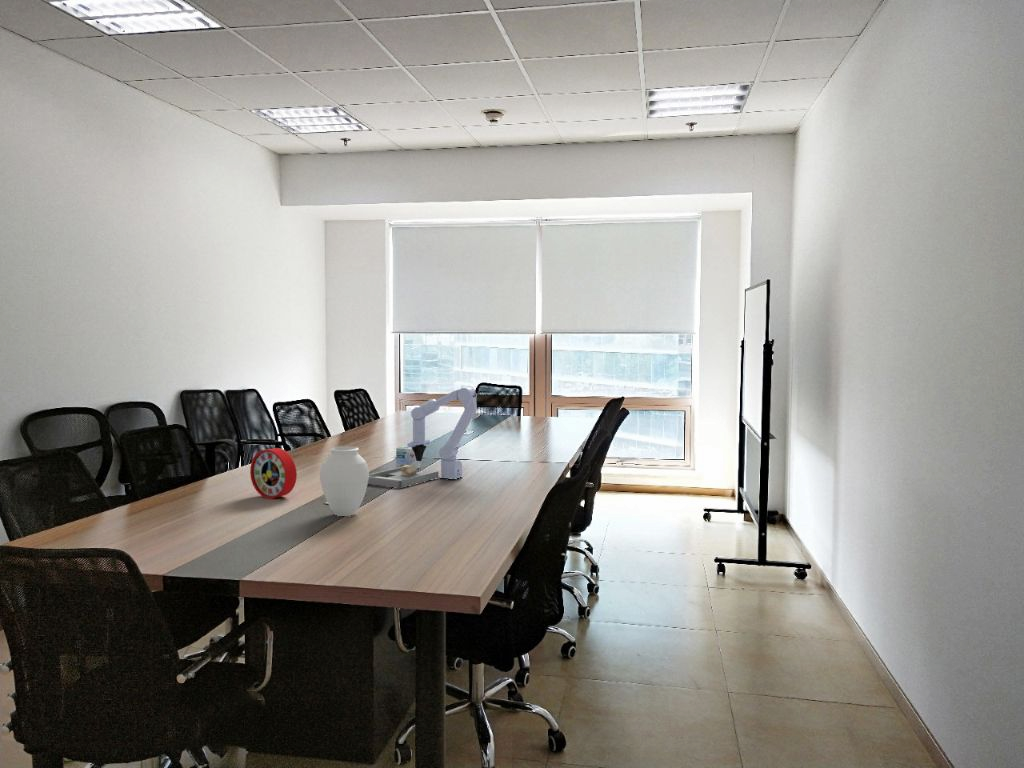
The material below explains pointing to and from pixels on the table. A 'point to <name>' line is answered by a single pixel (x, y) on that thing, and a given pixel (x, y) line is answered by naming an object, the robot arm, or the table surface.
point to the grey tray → (399, 478)
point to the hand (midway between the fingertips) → (418, 460)
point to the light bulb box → (406, 457)
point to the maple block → (409, 470)
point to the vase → (344, 480)
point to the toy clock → (273, 473)
